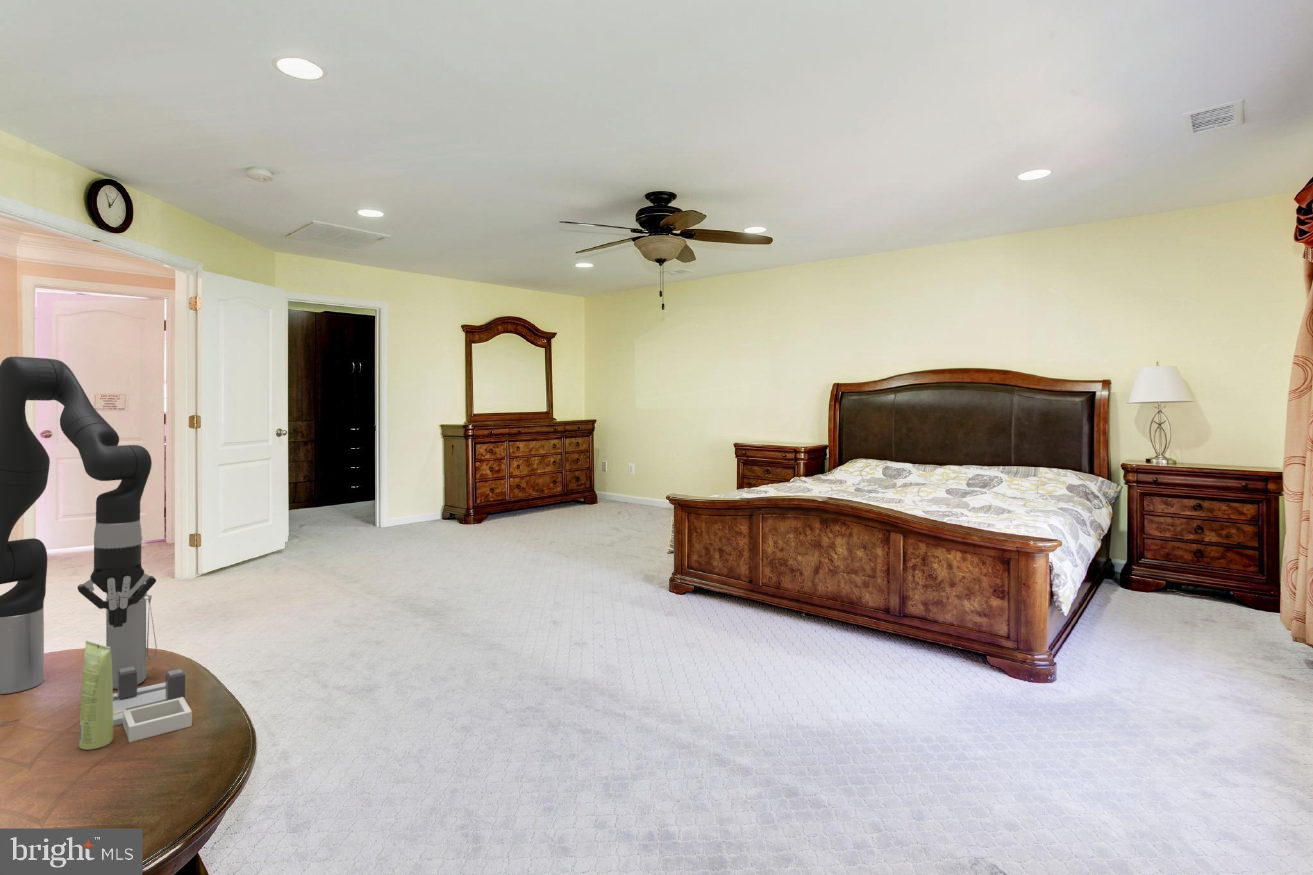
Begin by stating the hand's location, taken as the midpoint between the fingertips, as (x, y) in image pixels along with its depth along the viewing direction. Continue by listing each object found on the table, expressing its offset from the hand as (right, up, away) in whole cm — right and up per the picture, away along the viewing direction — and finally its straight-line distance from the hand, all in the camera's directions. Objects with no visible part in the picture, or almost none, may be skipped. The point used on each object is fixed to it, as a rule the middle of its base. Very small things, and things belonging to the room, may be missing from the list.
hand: (117, 626), depth 135 cm
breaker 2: (+6, -18, +8) cm, 20 cm away
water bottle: (-11, -19, +17) cm, 28 cm away
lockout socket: (+10, -20, -2) cm, 22 cm away
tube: (+4, -20, -10) cm, 23 cm away
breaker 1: (-5, -17, +8) cm, 20 cm away
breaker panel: (0, -19, +7) cm, 20 cm away
